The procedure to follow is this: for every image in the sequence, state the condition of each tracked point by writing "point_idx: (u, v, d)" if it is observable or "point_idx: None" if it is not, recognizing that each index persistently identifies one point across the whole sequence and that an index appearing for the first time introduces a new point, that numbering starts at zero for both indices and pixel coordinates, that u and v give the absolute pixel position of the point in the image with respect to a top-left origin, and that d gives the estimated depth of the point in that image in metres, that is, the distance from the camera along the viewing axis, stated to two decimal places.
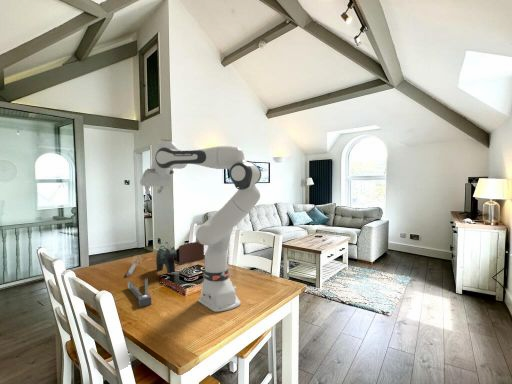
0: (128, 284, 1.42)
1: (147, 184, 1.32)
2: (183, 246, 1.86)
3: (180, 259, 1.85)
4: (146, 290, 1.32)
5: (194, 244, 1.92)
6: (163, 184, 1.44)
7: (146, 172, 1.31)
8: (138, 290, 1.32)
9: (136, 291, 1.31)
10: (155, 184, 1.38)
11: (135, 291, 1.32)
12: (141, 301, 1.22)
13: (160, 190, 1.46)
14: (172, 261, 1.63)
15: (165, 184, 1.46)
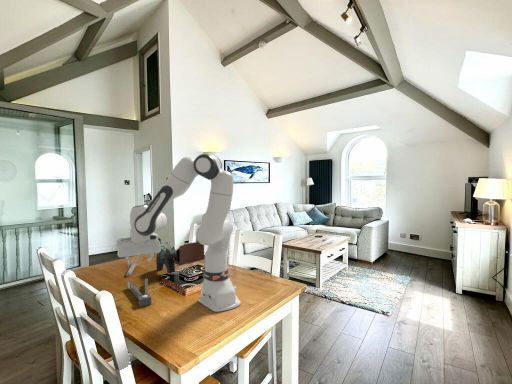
0: (128, 284, 1.42)
1: (121, 255, 1.28)
2: (183, 246, 1.86)
3: (180, 259, 1.84)
4: (146, 290, 1.32)
5: (194, 244, 1.92)
6: (148, 251, 1.35)
7: (118, 242, 1.28)
8: (138, 290, 1.32)
9: (136, 291, 1.31)
10: (134, 253, 1.31)
11: (135, 291, 1.32)
12: (141, 301, 1.22)
13: (149, 258, 1.36)
14: (172, 261, 1.63)
15: (152, 251, 1.36)
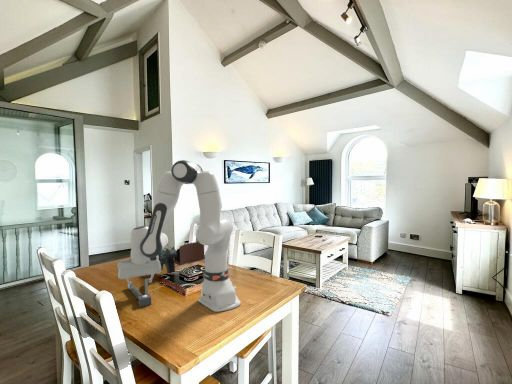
0: (128, 284, 1.42)
1: (122, 276, 1.29)
2: (184, 246, 1.86)
3: (181, 259, 1.84)
4: (146, 290, 1.32)
5: (194, 244, 1.92)
6: (149, 272, 1.35)
7: (119, 264, 1.29)
8: (138, 290, 1.32)
9: (136, 291, 1.31)
10: (135, 274, 1.32)
11: (135, 291, 1.32)
12: (141, 301, 1.22)
13: (149, 279, 1.37)
14: (172, 261, 1.63)
15: (153, 272, 1.36)
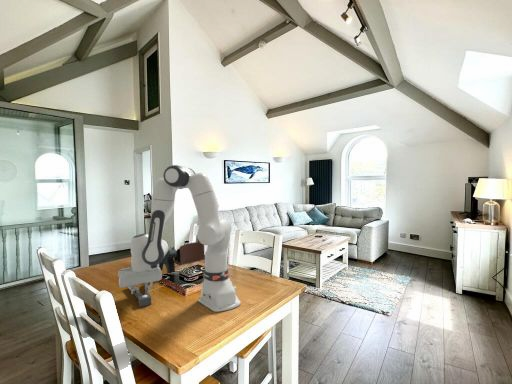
0: None
1: (122, 285, 1.29)
2: (184, 246, 1.86)
3: (181, 259, 1.84)
4: (146, 290, 1.32)
5: (195, 244, 1.92)
6: (149, 280, 1.35)
7: (119, 273, 1.29)
8: (138, 290, 1.32)
9: (136, 291, 1.31)
10: (136, 282, 1.32)
11: (135, 291, 1.32)
12: (141, 301, 1.22)
13: (148, 287, 1.36)
14: (172, 261, 1.63)
15: (153, 279, 1.36)
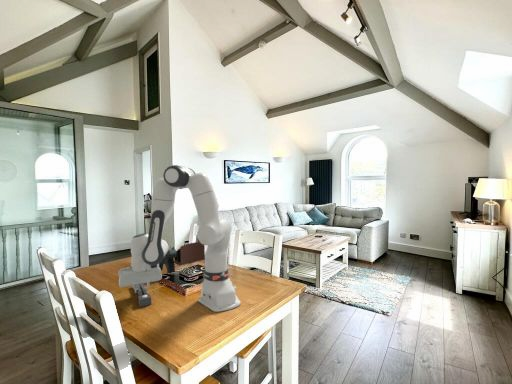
0: None
1: (122, 284, 1.29)
2: (184, 246, 1.85)
3: (181, 259, 1.84)
4: (144, 290, 1.32)
5: (195, 244, 1.91)
6: (149, 280, 1.35)
7: (119, 272, 1.29)
8: (140, 289, 1.33)
9: (138, 290, 1.32)
10: (136, 282, 1.32)
11: (138, 290, 1.33)
12: (141, 301, 1.22)
13: (145, 287, 1.36)
14: (172, 261, 1.63)
15: (153, 279, 1.36)
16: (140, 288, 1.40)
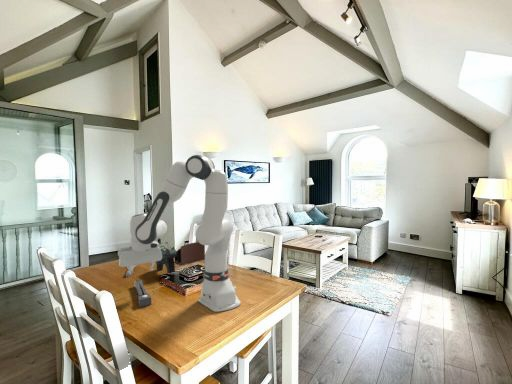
0: None
1: (123, 264, 1.28)
2: (185, 246, 1.85)
3: (182, 260, 1.83)
4: (144, 290, 1.32)
5: (195, 244, 1.91)
6: (150, 260, 1.35)
7: (119, 252, 1.29)
8: (140, 289, 1.33)
9: (138, 290, 1.32)
10: (136, 262, 1.31)
11: (138, 290, 1.33)
12: (141, 301, 1.22)
13: (151, 267, 1.36)
14: (172, 261, 1.63)
15: (154, 259, 1.36)
16: (140, 288, 1.40)
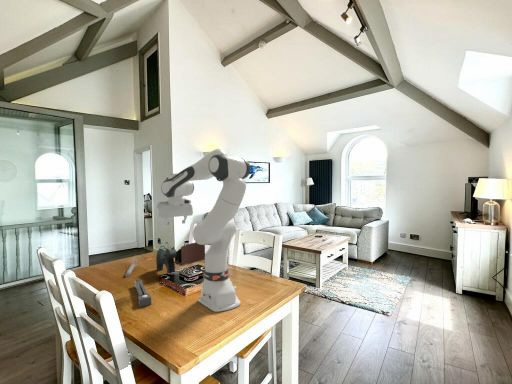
0: None
1: (161, 215, 1.50)
2: (185, 247, 1.85)
3: (182, 260, 1.83)
4: (144, 290, 1.32)
5: (196, 244, 1.91)
6: (183, 214, 1.57)
7: (158, 205, 1.51)
8: (140, 289, 1.33)
9: (138, 290, 1.32)
10: (172, 214, 1.53)
11: (138, 290, 1.33)
12: (141, 301, 1.22)
13: (183, 220, 1.58)
14: (172, 261, 1.63)
15: (186, 214, 1.58)
16: (140, 288, 1.40)
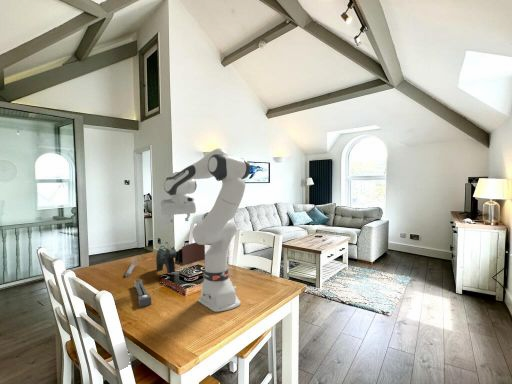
0: None
1: (165, 213, 1.53)
2: (186, 247, 1.84)
3: (183, 260, 1.83)
4: (144, 290, 1.32)
5: (196, 244, 1.91)
6: (186, 212, 1.59)
7: (162, 203, 1.53)
8: (140, 289, 1.33)
9: (138, 290, 1.32)
10: (175, 212, 1.56)
11: (138, 290, 1.33)
12: (141, 301, 1.22)
13: (186, 218, 1.61)
14: (172, 261, 1.63)
15: (189, 212, 1.60)
16: (140, 288, 1.40)
